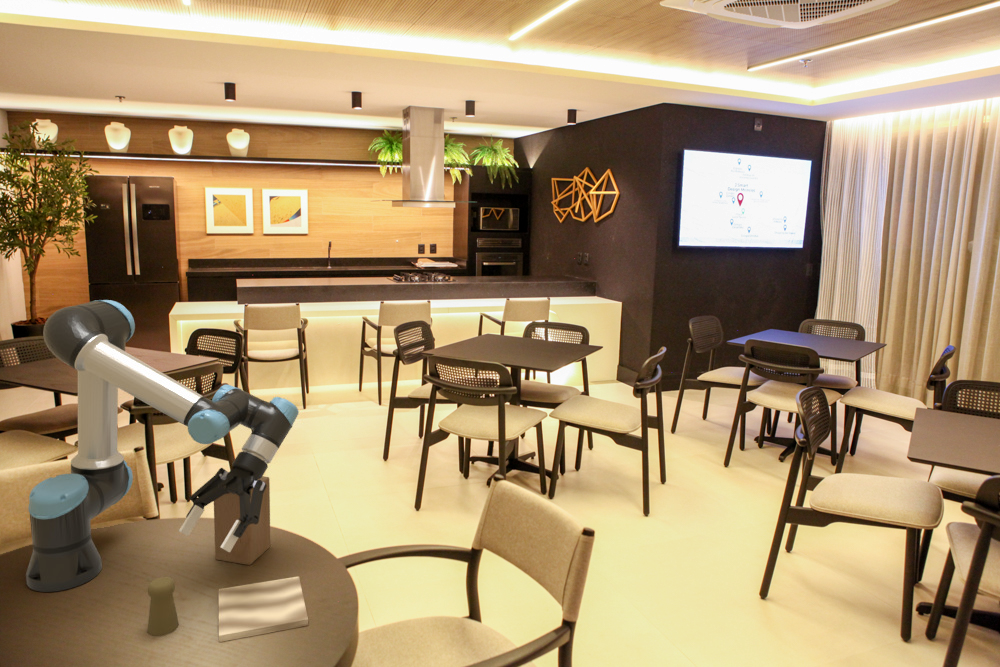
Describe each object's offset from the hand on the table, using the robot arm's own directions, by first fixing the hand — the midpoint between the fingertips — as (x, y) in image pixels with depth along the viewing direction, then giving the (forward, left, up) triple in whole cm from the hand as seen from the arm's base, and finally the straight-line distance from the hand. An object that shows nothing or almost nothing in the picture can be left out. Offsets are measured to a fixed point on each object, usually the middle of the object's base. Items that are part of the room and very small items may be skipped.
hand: (203, 541), depth 149 cm
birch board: (+7, +12, -15) cm, 20 cm away
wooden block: (-20, +9, -15) cm, 27 cm away
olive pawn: (+7, -8, -15) cm, 19 cm away
